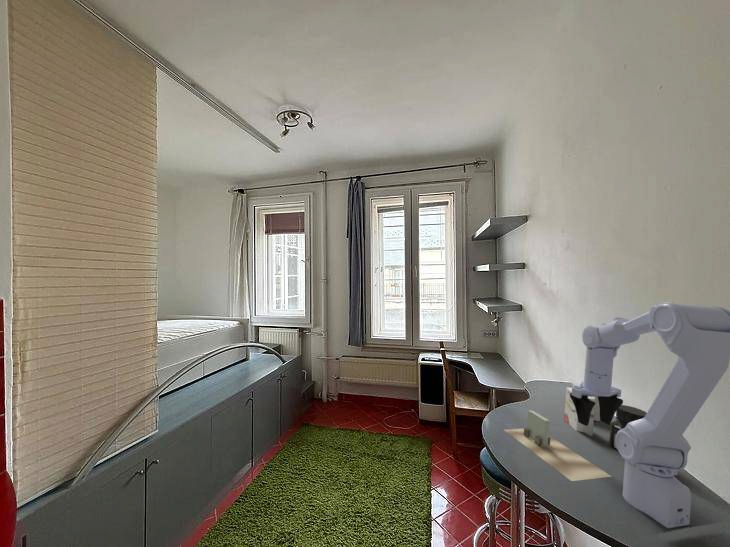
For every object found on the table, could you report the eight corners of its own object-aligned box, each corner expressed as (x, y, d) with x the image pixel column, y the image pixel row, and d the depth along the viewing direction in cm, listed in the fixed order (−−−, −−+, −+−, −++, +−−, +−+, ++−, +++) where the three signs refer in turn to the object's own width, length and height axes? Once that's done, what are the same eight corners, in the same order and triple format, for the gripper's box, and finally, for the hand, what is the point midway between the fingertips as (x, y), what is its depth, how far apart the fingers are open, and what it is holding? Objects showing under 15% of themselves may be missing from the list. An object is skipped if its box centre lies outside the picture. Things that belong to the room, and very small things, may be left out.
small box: (597, 416, 106) (600, 387, 106) (600, 422, 101) (602, 391, 101) (570, 409, 110) (573, 381, 110) (571, 414, 106) (574, 385, 106)
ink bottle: (615, 456, 81) (618, 412, 81) (601, 440, 89) (604, 400, 89) (660, 466, 77) (664, 421, 77) (642, 449, 86) (645, 408, 86)
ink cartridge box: (562, 421, 100) (566, 377, 100) (579, 423, 99) (582, 380, 99) (575, 434, 91) (579, 386, 91) (593, 437, 90) (597, 389, 90)
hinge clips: (550, 445, 82) (550, 437, 82) (539, 445, 81) (539, 438, 81) (534, 434, 87) (534, 427, 87) (523, 434, 86) (524, 428, 86)
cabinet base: (611, 480, 70) (612, 476, 70) (571, 485, 67) (571, 481, 67) (536, 431, 91) (536, 427, 91) (503, 433, 88) (503, 429, 88)
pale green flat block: (547, 445, 81) (549, 420, 81) (543, 446, 81) (545, 420, 81) (530, 434, 87) (532, 410, 87) (526, 434, 86) (528, 410, 86)
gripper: (603, 367, 84) (599, 415, 84) (563, 367, 81) (559, 416, 81) (631, 376, 77) (627, 427, 77) (588, 376, 74) (583, 430, 74)
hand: (594, 423), depth 78 cm, fingers open, 7 cm apart
